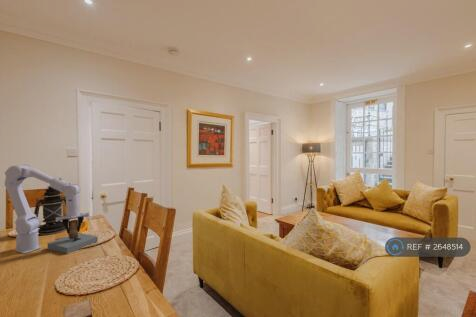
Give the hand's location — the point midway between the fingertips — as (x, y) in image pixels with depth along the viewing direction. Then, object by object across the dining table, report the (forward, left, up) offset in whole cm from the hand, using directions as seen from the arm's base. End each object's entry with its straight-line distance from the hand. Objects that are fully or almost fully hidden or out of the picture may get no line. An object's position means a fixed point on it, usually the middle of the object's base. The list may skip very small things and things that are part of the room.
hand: (73, 232), depth 122 cm
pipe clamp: (-16, +12, -8) cm, 22 cm away
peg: (0, 0, -3) cm, 3 cm away
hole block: (0, 0, -7) cm, 7 cm away
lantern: (-36, +10, -8) cm, 38 cm away
